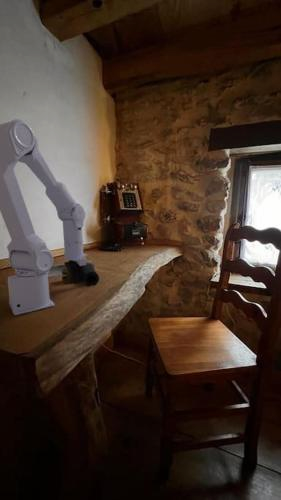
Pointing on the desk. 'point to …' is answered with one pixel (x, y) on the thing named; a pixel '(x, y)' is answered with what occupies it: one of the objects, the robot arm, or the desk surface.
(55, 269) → the guide dock
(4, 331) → the desk surface
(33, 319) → the desk surface
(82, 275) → the pipe connector
